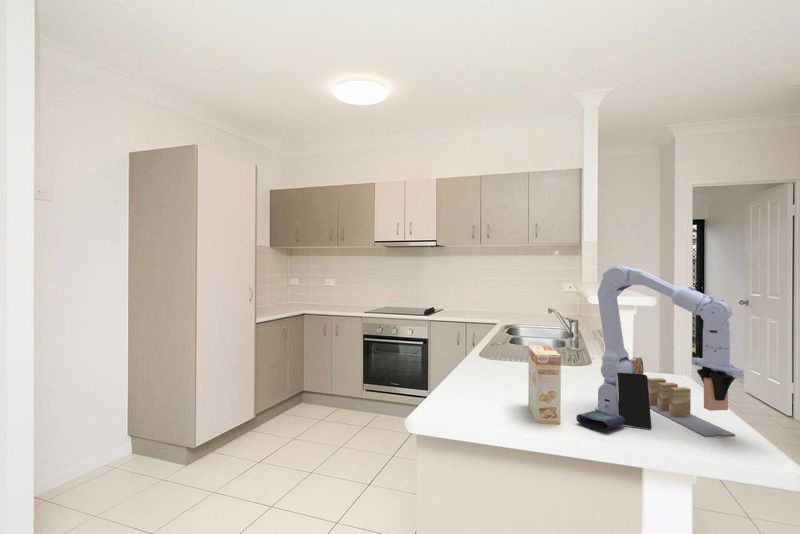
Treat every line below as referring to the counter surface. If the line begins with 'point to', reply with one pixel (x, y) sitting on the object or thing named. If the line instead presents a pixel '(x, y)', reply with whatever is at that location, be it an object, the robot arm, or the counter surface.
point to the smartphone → (633, 400)
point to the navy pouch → (600, 420)
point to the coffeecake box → (544, 384)
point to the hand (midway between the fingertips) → (715, 398)
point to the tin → (637, 365)
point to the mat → (695, 424)
